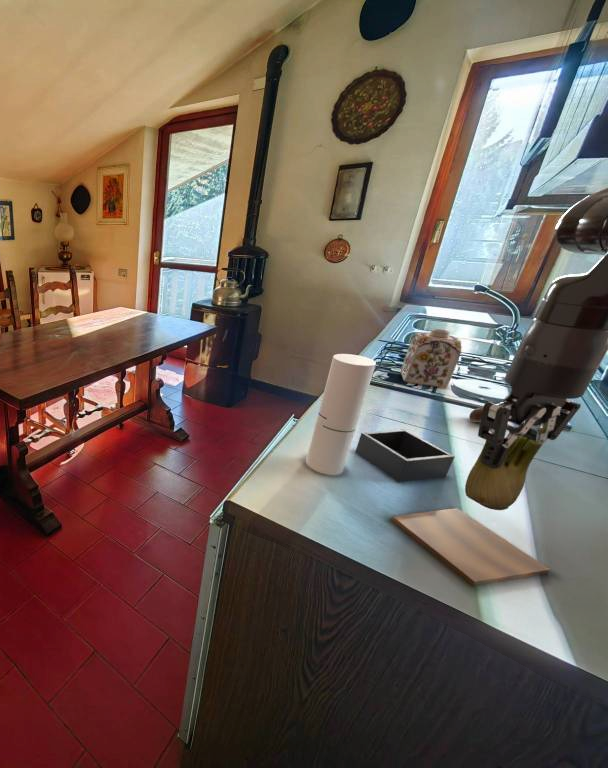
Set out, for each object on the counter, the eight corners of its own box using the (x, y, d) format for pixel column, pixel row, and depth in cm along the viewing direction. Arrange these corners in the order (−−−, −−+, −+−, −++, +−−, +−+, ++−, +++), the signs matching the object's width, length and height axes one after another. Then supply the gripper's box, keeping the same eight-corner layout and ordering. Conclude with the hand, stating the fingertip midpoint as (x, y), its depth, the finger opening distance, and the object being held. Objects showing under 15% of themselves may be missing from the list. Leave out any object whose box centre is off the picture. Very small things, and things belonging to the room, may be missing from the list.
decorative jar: (447, 390, 127) (468, 337, 121) (403, 382, 133) (421, 331, 126) (439, 378, 137) (459, 329, 130) (399, 372, 142) (415, 324, 136)
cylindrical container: (326, 456, 89) (355, 353, 80) (350, 475, 83) (385, 364, 73) (298, 459, 88) (325, 354, 78) (320, 478, 82) (352, 366, 72)
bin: (397, 449, 93) (404, 429, 90) (445, 478, 82) (454, 456, 80) (354, 453, 91) (361, 432, 89) (398, 484, 80) (407, 461, 78)
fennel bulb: (456, 498, 62) (487, 432, 58) (464, 487, 65) (494, 424, 60) (506, 519, 58) (543, 449, 53) (513, 506, 61) (548, 439, 56)
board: (454, 513, 72) (457, 507, 72) (547, 575, 60) (550, 569, 59) (390, 521, 70) (392, 515, 69) (471, 587, 57) (475, 581, 57)
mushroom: (521, 426, 98) (512, 402, 99) (480, 431, 101) (471, 407, 103) (507, 428, 105) (499, 405, 106) (469, 432, 108) (461, 410, 110)
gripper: (548, 368, 47) (492, 483, 54) (637, 363, 50) (572, 474, 56) (482, 350, 54) (439, 454, 61) (563, 346, 57) (513, 447, 63)
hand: (503, 463), depth 58 cm, fingers closed on fennel bulb, 4 cm apart
